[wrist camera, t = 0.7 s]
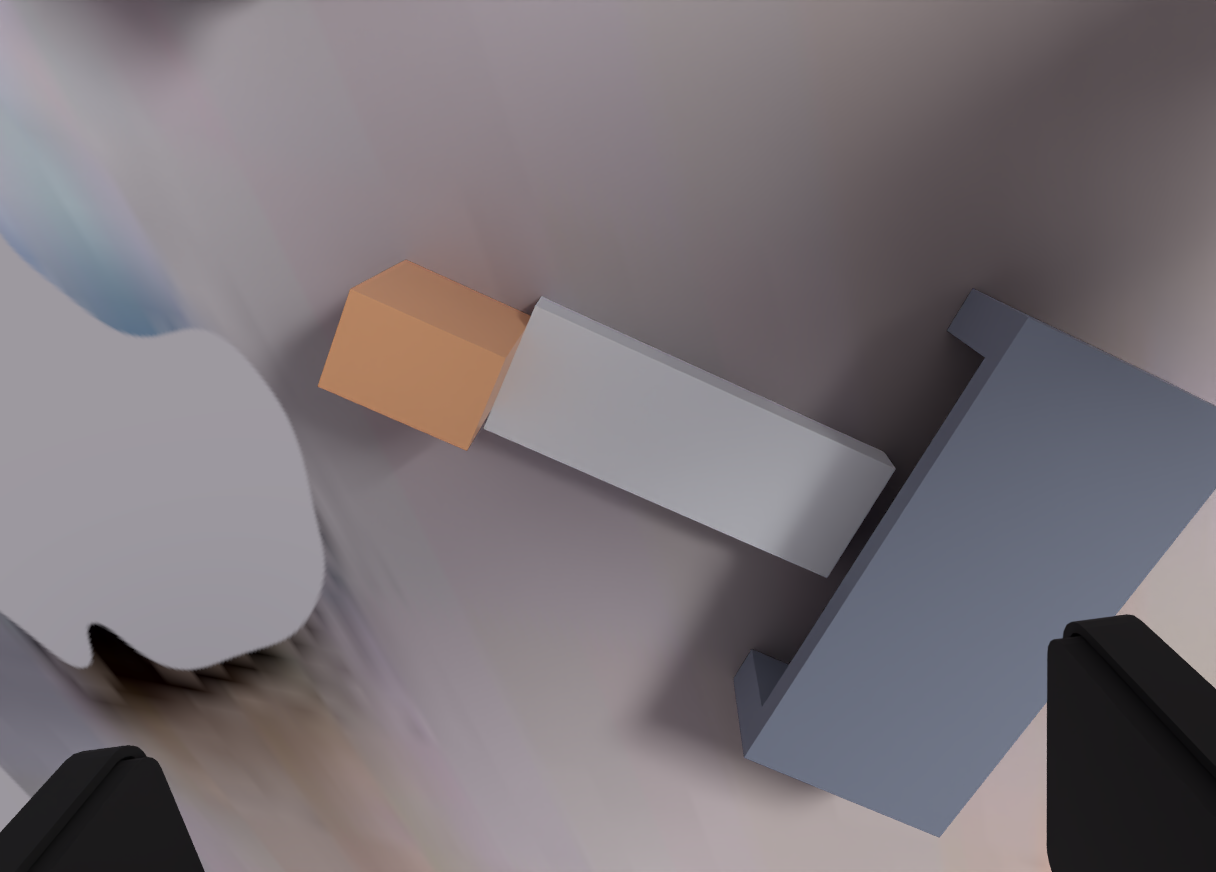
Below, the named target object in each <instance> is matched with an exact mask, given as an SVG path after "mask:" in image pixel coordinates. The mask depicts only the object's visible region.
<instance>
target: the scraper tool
mask: <svg viewBox="0 0 1216 872" xmlns="http://www.w3.org/2000/svg"><path fill="white" fill-rule="evenodd" d="M318 387H320V388H322V389H325V390H327V391H329V392H331V393H334V394H336V395H338V396H341V397H343V398H345V399H348V400H350V401H352V402H355V403H357V404H359V405H362V406H364V407H366V408H369V409H371V410H373V411H376V412H378V413H380V414H382V415H385V416H387V417H389V418H392V419H394V420H396V421H399V422H401V423H403V424H406V425H408V426H410V427H413V428H415V429H417V430H420V431H422V432H424V433H427V434H429V435H431V436H433V437H436V438H438V439H440V440H443V441H445V442H447V443H450V444H452V445H454V446H457V447H459V448H461V449H464V450H466V451H467V450H468V448H469V447H470V445H471V443H472V442H473V440H474V438H475V437H476V435H477V433H478V432H479V430H480V428H481V426H482V425H483V423H484V421H485V420H486V418H487V416H488V415H489V417H488V419H487V421H486V424H485V426H484V429H485V430H488V431H490V432H492V433H495V434H497V435H499V436H501V437H504V438H506V439H508V440H511V441H513V442H515V443H517V444H520V445H522V446H524V447H527V448H529V449H531V450H534V451H536V452H538V453H540V454H543V455H545V456H547V457H550V458H552V459H554V460H557V461H559V462H561V463H563V464H566V465H568V466H570V467H573V468H575V469H577V470H580V471H582V472H584V473H586V474H589V475H591V476H593V477H596V478H598V479H600V480H603V481H605V482H607V483H609V484H612V485H614V486H616V487H619V488H621V489H623V490H626V491H628V492H630V493H632V494H635V495H637V496H639V497H642V498H644V499H646V500H649V501H651V502H653V503H655V504H658V505H660V506H662V507H665V508H667V509H669V510H672V511H674V512H676V513H678V514H681V515H683V516H685V517H688V518H690V519H692V520H695V521H697V522H699V523H701V524H704V525H706V526H708V527H711V528H713V529H715V530H717V531H720V532H722V533H724V534H727V535H729V536H731V537H734V538H736V539H738V540H740V541H743V542H745V543H747V544H750V545H752V546H754V547H757V548H759V549H761V550H763V551H766V552H768V553H770V554H773V555H775V556H777V557H780V558H782V559H784V560H786V561H789V562H791V563H793V564H796V565H798V566H800V567H803V568H805V569H807V570H809V571H812V572H814V573H816V574H819V575H821V576H823V577H826V578H827V577H828V576H829V574H830V573H831V571H832V569H833V568H834V566H835V565H836V563H837V561H838V560H839V558H840V557H841V555H842V554H843V552H844V550H845V549H846V547H847V546H848V544H849V542H850V541H851V539H852V538H853V536H854V534H855V533H856V531H857V530H858V528H859V527H860V525H861V523H862V522H863V520H864V519H865V517H866V515H867V514H868V512H869V511H870V509H871V507H872V506H873V504H874V503H875V501H876V500H877V498H878V496H879V495H880V493H881V492H882V490H883V488H884V487H885V485H886V484H887V482H888V480H889V479H890V477H891V476H892V474H893V472H894V471H895V469H896V468H895V467H894V465H893V464H892V462H891V461H890V460H889V458H888V457H887V455H886V454H885V452H883V451H881V450H879V449H876V448H874V447H872V446H870V445H868V444H865V443H863V442H861V441H859V440H857V439H854V438H852V437H850V436H848V435H846V434H843V433H841V432H839V431H837V430H835V429H832V428H830V427H828V426H826V425H824V424H821V423H819V422H817V421H815V420H813V419H810V418H808V417H806V416H804V415H802V414H799V413H797V412H795V411H793V410H791V409H788V408H786V407H784V406H782V405H780V404H777V403H775V402H773V401H771V400H769V399H766V398H764V397H762V396H760V395H758V394H755V393H753V392H751V391H749V390H747V389H744V388H742V387H740V386H738V385H736V384H733V383H731V382H729V381H727V380H725V379H722V378H720V377H718V376H716V375H714V374H711V373H709V372H707V371H705V370H703V369H700V368H698V367H696V366H694V365H692V364H689V363H687V362H685V361H683V360H681V359H678V358H676V357H674V356H672V355H670V354H667V353H665V352H663V351H661V350H659V349H656V348H654V347H652V346H650V345H648V344H645V343H643V342H641V341H639V340H637V339H634V338H632V337H630V336H628V335H626V334H623V333H621V332H619V331H617V330H615V329H612V328H610V327H608V326H606V325H604V324H601V323H599V322H597V321H595V320H593V319H590V318H588V317H586V316H584V315H582V314H579V313H577V312H575V311H573V310H571V309H568V308H566V307H564V306H562V305H560V304H557V303H555V302H553V301H551V300H549V299H546V298H544V297H542V296H541V298H540V299H539V301H538V302H537V304H536V305H535V307H534V310H533V312H532V315H531V316H530V315H528V314H526V313H523V312H521V311H519V310H517V309H514V308H512V307H510V306H508V305H506V304H503V303H501V302H499V301H497V300H495V299H492V298H490V297H488V296H486V295H483V294H481V293H479V292H477V291H475V290H472V289H470V288H468V287H466V286H463V285H461V284H459V283H457V282H455V281H452V280H450V279H448V278H446V277H444V276H441V275H439V274H437V273H435V272H432V271H430V270H428V269H426V268H424V267H421V266H419V265H417V264H415V263H413V262H410V261H408V260H404V261H402V262H400V263H398V264H396V265H395V266H393V267H391V268H389V269H387V270H385V271H383V272H381V273H379V274H378V275H376V276H374V277H372V278H370V279H368V280H366V281H364V282H362V283H361V284H359V285H357V286H355V287H353V288H351V289H350V291H349V294H348V297H347V300H346V303H345V306H344V309H343V312H342V315H341V318H340V321H339V324H338V327H337V330H336V333H335V336H334V339H333V342H332V345H331V348H330V351H329V354H328V357H327V360H326V363H325V366H324V369H323V372H322V375H321V378H320V381H319V384H318ZM491 409H492V410H491ZM490 411H491V412H490ZM489 413H490V414H489Z"/></svg>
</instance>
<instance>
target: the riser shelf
mask: <svg viewBox="0 0 1216 872" xmlns="http://www.w3.org/2000/svg"><path fill="white" fill-rule="evenodd" d="M947 331H948V332H950V333H951V334H953V335H954V336H955V337H957V338H958V339H960V340H961V341H962V342H964V343H965V344H967V345H968V346H969V347H971V348H972V349H974V350H975V351H976V352H978V353H979V354H981V355H982V356H983V357H985V358H984V360H983V362H982V363H981V365H980V366H979V368H978V369H977V371H976V372H975V374H974V376H973V377H972V379H971V380H970V382H969V383H968V385H967V387H966V388H965V390H964V391H963V393H962V394H961V396H960V398H959V399H958V401H957V402H956V404H955V405H954V407H953V409H952V410H951V412H950V413H949V415H948V416H947V418H946V420H945V421H944V423H943V424H942V426H941V427H940V429H939V430H938V432H937V434H936V435H935V437H934V438H933V440H932V441H931V443H930V445H929V446H928V448H927V449H926V451H925V452H924V454H923V456H922V457H921V459H920V460H919V462H918V463H917V465H916V467H915V468H914V470H913V471H912V473H911V474H910V476H909V478H908V479H907V481H906V482H905V484H904V485H903V487H902V488H901V490H900V492H899V493H898V495H897V496H896V498H895V499H894V501H893V503H892V504H891V506H890V507H889V509H888V510H887V512H886V514H885V515H884V517H883V518H882V520H881V521H880V523H879V525H878V526H877V528H876V529H875V531H874V532H873V534H872V536H871V537H870V539H869V540H868V542H867V543H866V545H865V546H864V548H863V550H862V551H861V553H860V554H859V556H858V557H857V559H856V561H855V562H854V564H853V565H852V567H851V568H850V570H849V572H848V573H847V575H846V576H845V578H844V579H843V581H842V583H841V584H840V586H839V587H838V589H837V590H836V592H835V594H834V595H833V597H832V598H831V600H830V601H829V603H828V604H827V606H826V608H825V609H824V611H823V612H822V614H821V615H820V617H819V619H818V620H817V622H816V623H815V625H814V626H813V628H812V630H811V631H810V633H809V634H808V636H807V637H806V639H805V641H804V642H803V644H802V645H801V647H800V648H799V650H798V652H797V653H796V655H795V656H794V658H793V659H792V661H791V662H790V664H789V665H788V664H786V663H783V662H781V661H779V660H776V659H774V658H772V657H769V656H767V655H764V654H762V653H760V652H757V651H755V650H753V649H751V651H750V653H749V654H748V656H747V658H746V659H745V661H744V662H743V664H742V666H741V667H740V669H739V671H738V672H737V674H736V676H735V677H734V687H735V694H736V702H737V709H738V717H739V724H740V732H741V739H742V747H743V754H744V758H746V759H748V760H751V761H753V762H756V763H758V764H761V765H763V766H766V767H768V768H770V769H773V770H775V771H778V772H780V773H783V774H785V775H788V776H790V777H792V778H795V779H797V780H800V781H802V782H805V783H807V784H810V785H812V786H815V787H817V788H819V789H822V790H824V791H827V792H829V793H832V794H834V795H837V796H839V797H841V798H844V799H846V800H849V801H851V802H854V803H856V804H859V805H861V806H863V807H866V808H868V809H871V810H873V811H876V812H878V813H881V814H883V815H885V816H888V817H890V818H893V819H895V820H898V821H900V822H903V823H905V824H907V825H910V826H912V827H915V828H917V829H920V830H922V831H925V832H927V833H929V834H932V835H934V836H937V837H940V836H941V835H942V834H943V832H944V831H945V830H946V829H947V827H948V826H949V825H950V824H951V822H952V821H953V820H954V819H955V817H956V816H957V815H958V813H959V812H960V811H961V810H962V808H963V807H964V806H965V805H966V803H967V802H968V801H969V800H970V798H971V797H972V796H973V795H974V793H975V792H976V791H977V789H978V788H979V787H980V786H981V784H982V783H983V782H984V781H985V779H986V778H987V777H988V776H989V774H990V773H991V772H992V771H993V769H994V768H995V767H996V765H997V764H998V763H999V762H1000V760H1001V759H1002V758H1003V757H1004V755H1005V754H1006V753H1007V752H1008V750H1009V749H1010V748H1011V747H1012V745H1013V744H1014V743H1015V741H1016V740H1017V739H1018V738H1019V736H1020V735H1021V734H1022V733H1023V731H1024V730H1025V729H1026V728H1027V726H1028V725H1029V724H1030V723H1031V721H1032V720H1033V719H1034V717H1035V716H1036V715H1037V714H1038V712H1039V711H1040V710H1041V709H1042V707H1043V706H1044V705H1045V704H1046V702H1047V651H1048V645H1049V643H1050V641H1052V640H1053V639H1060V638H1063V631H1064V629H1065V627H1066V625H1067V624H1068V623H1070V622H1073V621H1080V620H1088V619H1096V618H1103V617H1111V616H1115V615H1116V614H1117V613H1118V611H1119V610H1120V609H1121V608H1122V606H1123V605H1124V604H1125V603H1126V601H1127V600H1128V599H1129V598H1130V596H1131V595H1132V594H1133V592H1134V591H1135V590H1136V589H1137V587H1138V586H1139V585H1140V584H1141V582H1142V581H1143V580H1144V579H1145V577H1146V576H1147V575H1148V574H1149V572H1150V571H1151V570H1152V568H1153V567H1154V566H1155V565H1156V563H1157V562H1158V561H1159V560H1160V558H1161V557H1162V556H1163V555H1164V553H1165V552H1166V551H1167V550H1168V548H1169V547H1170V546H1171V544H1172V543H1173V542H1174V541H1175V539H1176V538H1177V537H1178V536H1179V534H1180V533H1181V532H1182V531H1183V529H1184V528H1185V527H1186V526H1187V524H1188V523H1189V522H1190V520H1191V519H1192V518H1193V517H1194V515H1195V514H1196V513H1197V512H1198V510H1199V509H1200V508H1201V507H1202V505H1203V504H1204V503H1205V502H1206V500H1207V499H1208V498H1209V496H1210V495H1211V494H1212V493H1213V491H1214V490H1215V489H1216V406H1215V405H1213V404H1211V403H1209V402H1207V401H1205V400H1203V399H1201V398H1199V397H1197V396H1195V395H1193V394H1191V393H1189V392H1187V391H1185V390H1183V389H1181V388H1179V387H1177V386H1175V385H1173V384H1171V383H1169V382H1167V381H1165V380H1163V379H1160V378H1158V377H1156V376H1154V375H1152V374H1150V373H1148V372H1146V371H1144V370H1142V369H1140V368H1138V367H1135V366H1133V365H1131V364H1129V363H1127V362H1125V361H1123V360H1121V359H1119V358H1117V357H1115V356H1113V355H1110V354H1108V353H1106V352H1104V351H1102V350H1100V349H1098V348H1096V347H1094V346H1092V345H1090V344H1088V343H1086V342H1083V341H1081V340H1079V339H1077V338H1075V337H1073V336H1071V335H1069V334H1067V333H1065V332H1063V331H1061V330H1058V329H1056V328H1054V327H1052V326H1050V325H1048V324H1046V323H1044V322H1042V321H1040V320H1038V319H1036V318H1033V317H1031V316H1029V315H1027V314H1025V313H1023V312H1021V311H1019V310H1017V309H1015V308H1013V307H1011V306H1008V305H1006V304H1004V303H1002V302H1000V301H998V300H996V299H994V298H992V297H990V296H988V295H986V294H984V293H981V292H979V291H977V290H975V289H972V290H971V292H970V294H969V295H968V297H967V299H966V300H965V302H964V303H963V305H962V307H961V308H960V310H959V312H958V313H957V315H956V317H955V318H954V320H953V321H952V323H951V325H950V326H949V328H948V330H947Z"/></svg>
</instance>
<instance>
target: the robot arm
mask: <svg viewBox="0 0 1216 872" xmlns="http://www.w3.org/2000/svg"><path fill="white" fill-rule="evenodd" d="M1047 854H1048V859H1049V864H1050V867H1051V870H1052V872H1216V689H1215V688H1214V687H1213V686H1212V685H1211V684H1210V683H1209V682H1208V681H1206V680H1205V679H1204V678H1203V677H1202V676H1201V675H1200V674H1199V673H1198V672H1197V671H1196V670H1194V669H1193V668H1192V667H1191V666H1190V665H1189V664H1188V663H1187V662H1186V661H1185V660H1184V659H1183V658H1181V657H1180V656H1179V655H1178V654H1177V653H1176V652H1175V651H1174V650H1173V649H1172V648H1171V647H1170V646H1168V645H1167V644H1166V643H1165V642H1164V641H1163V640H1162V639H1161V638H1160V637H1159V636H1158V635H1156V634H1155V633H1154V632H1153V631H1152V630H1151V629H1150V628H1149V627H1148V626H1147V625H1146V624H1145V623H1143V622H1142V621H1141V620H1140V619H1138V618H1137V617H1135V616H1134V615H1127V614H1126V615H1119V616H1111V617H1103V618H1096V619H1088V620H1080V621H1073V622H1070V623H1068V624H1067V625H1066V627H1065V629H1064V631H1063V638H1060V639H1053V640H1052V641H1050V643H1049V645H1048V651H1047ZM0 872H205V871H204V869H203V866H202V864H201V862H200V859H199V857H198V854H197V852H196V850H195V847H194V845H193V843H192V840H191V838H190V835H189V833H188V831H187V828H186V826H185V823H184V821H183V819H182V816H181V814H180V811H179V809H178V807H177V804H176V802H175V799H174V797H173V795H172V792H171V790H170V788H169V785H168V783H167V780H166V778H165V776H164V773H163V771H162V768H161V767H160V765H159V763H158V762H157V761H156V760H155V759H153V758H150V757H147V756H146V755H145V753H144V752H143V751H142V750H141V749H139V748H138V747H137V746H130V745H127V746H119V747H112V748H104V749H97V750H89V751H82V752H79V753H76V754H73V755H72V756H71V757H70V758H68V759H67V760H66V761H65V762H64V763H63V764H62V765H61V766H60V767H59V768H58V770H57V771H56V772H55V773H54V774H53V775H52V776H51V777H50V778H49V779H48V781H47V782H46V783H45V784H44V785H43V786H42V787H41V788H40V789H39V790H38V792H37V793H36V794H35V795H34V796H33V797H32V798H31V799H30V800H29V801H28V803H27V804H26V805H25V806H24V807H23V808H22V809H21V810H20V811H19V812H18V814H17V815H16V816H15V817H14V818H13V819H12V820H11V821H10V822H9V823H8V825H7V826H6V827H5V828H4V829H3V830H2V831H1V832H0Z"/></svg>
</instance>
